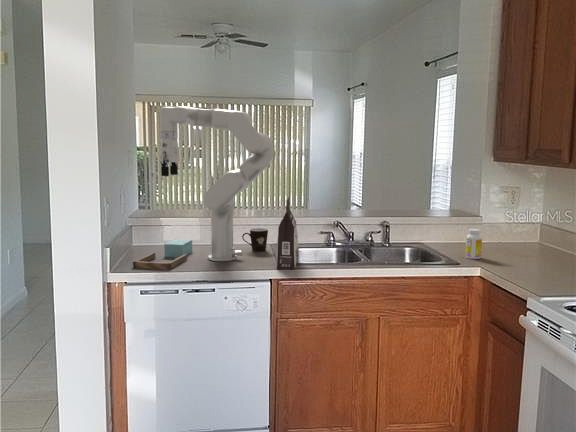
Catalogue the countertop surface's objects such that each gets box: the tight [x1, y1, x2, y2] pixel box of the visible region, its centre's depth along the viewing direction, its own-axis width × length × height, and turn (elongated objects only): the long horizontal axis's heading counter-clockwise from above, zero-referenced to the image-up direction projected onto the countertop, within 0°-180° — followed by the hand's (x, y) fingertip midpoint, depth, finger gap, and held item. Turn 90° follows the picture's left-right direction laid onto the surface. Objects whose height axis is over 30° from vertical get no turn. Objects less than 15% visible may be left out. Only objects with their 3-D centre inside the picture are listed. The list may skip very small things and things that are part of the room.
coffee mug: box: [241, 227, 269, 253], centre depth 247 cm, size 12×9×10 cm
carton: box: [163, 238, 193, 258], centre depth 238 cm, size 8×12×6 cm
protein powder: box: [275, 197, 299, 270], centre depth 218 cm, size 16×9×28 cm, turn 177°
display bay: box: [132, 252, 188, 271], centre depth 219 cm, size 16×18×2 cm
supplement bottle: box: [465, 228, 483, 260], centre depth 234 cm, size 7×7×13 cm
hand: (169, 175), depth 230 cm, fingers open, 9 cm apart
